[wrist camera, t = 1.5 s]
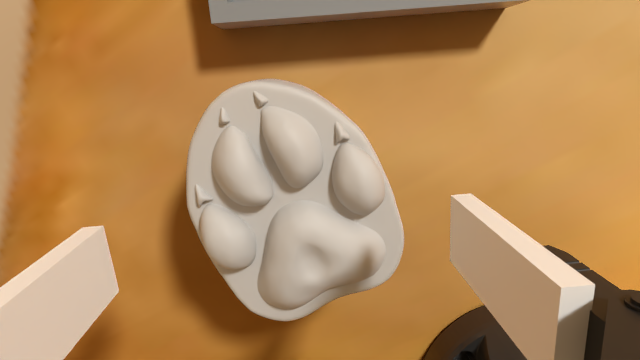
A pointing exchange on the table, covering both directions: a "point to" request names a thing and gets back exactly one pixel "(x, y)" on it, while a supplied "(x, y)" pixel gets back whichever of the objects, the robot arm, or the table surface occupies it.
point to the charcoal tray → (333, 10)
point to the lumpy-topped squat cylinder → (290, 199)
